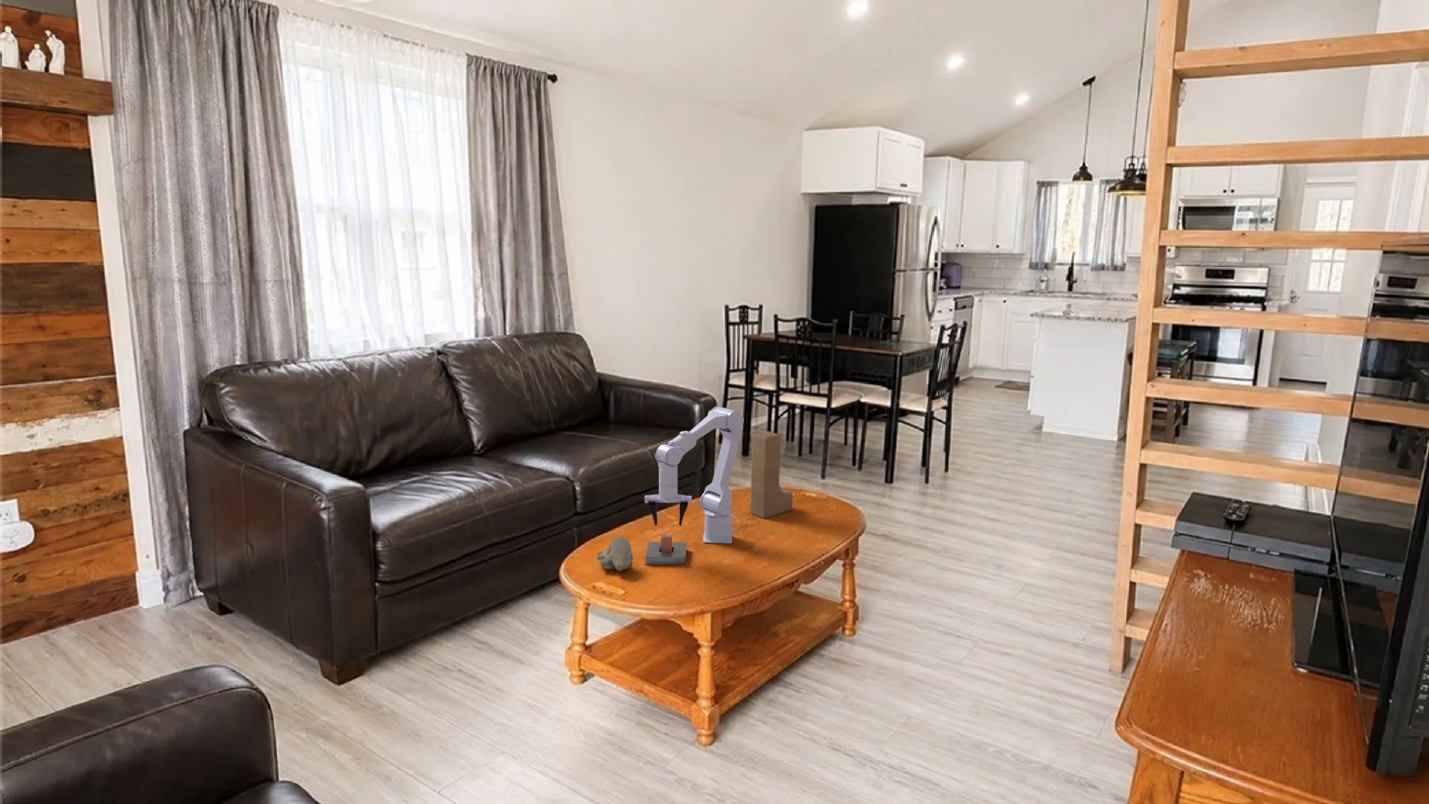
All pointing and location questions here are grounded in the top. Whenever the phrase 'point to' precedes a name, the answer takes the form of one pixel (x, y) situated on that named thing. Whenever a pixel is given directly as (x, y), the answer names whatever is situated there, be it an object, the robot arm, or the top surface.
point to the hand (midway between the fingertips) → (668, 524)
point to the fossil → (616, 555)
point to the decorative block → (767, 477)
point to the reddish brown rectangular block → (666, 543)
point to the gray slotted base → (666, 554)
